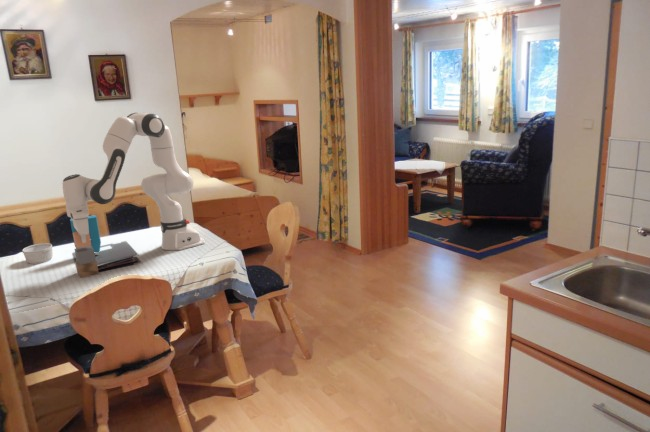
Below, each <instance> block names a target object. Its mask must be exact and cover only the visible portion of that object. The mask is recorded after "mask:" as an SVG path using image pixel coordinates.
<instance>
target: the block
mask: <svg viewBox="0 0 650 432" xmlns="http://www.w3.org/2000/svg"><path fill="white" fill-rule="evenodd" d="M87 218H88V227H89V235H90V240H91V245H90V246H92V248H93V249H94V252H99V251H100V252H101V244H102V240H101V235H100V234H101V233H100V230H99V223H98V218H97V215H95V214H94V215H89V217H87ZM69 221H70V227H71V231H72V233H71V234H73V232H77V230H76V229H75V228H74V225H73V220H71V218H70V219H69ZM72 238H73V240H74V237H73V236H72ZM73 243H74V248H75V249H76V248H77V247H76V246H75V242H74V241H73ZM85 247H86V246H85ZM80 248H81V247H80Z"/></svg>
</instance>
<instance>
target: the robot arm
mask: <svg viewBox="0 0 650 432" xmlns="http://www.w3.org/2000/svg"><path fill="white" fill-rule="evenodd" d="M163 121H164V120H163V119H162V118H161V117H160V116H159V115H157V114H154V113H149V112H133V113H130V114H128V115H127V116H123V115H122V116H118V117H117V118H116V119H115V120H114V122H113V123H112V124H111V126H110V128H109V129H108V130H107V133H106V135H105V137H104V140H103V142H102V150H103V152H104V153H105V154H106V157H107V164H106V165H105V169H104V172H103V175H102V177H101V178H100V179H94V178H89V177H85V176H83V175H82V174H79V173H78V174H77V173H76V174H71V175H68V176H66V177H64V178H63V180H62V192H63V198H64V200H65V210H66V215H67V217H68V218H70V219H71V220H73V225H74V228H75V229H76V230H77V232H78V233H79V235H80V236H81V241H82V243H86V235H88V234H89V235H90V233H89V227H88V218H87V217H89V216H90V214H89V213H90V211H89V205H88V201H91V202H95V203H97V204H100V205H107V204H110V203H111V202H112V201H113V200H114V198H115V197H116V189H117V188H116V186H117V183H118V180H119V177H120V175H121V172H122V169H123V166H124V164H125V159H126V156H127V153H128V150H129V148H130V146H131V144H132V141H133V139H134V138H135V137H136V136H142V137H148V139H149V142H150V143H149V144H150V150H151V157H152V162H153V164H154V165H155V166H157V167H158V168H159V167H160V168H162V169H163V170H165V173H155V174H149V175H146V176H144V177H143V178H142V180H141V183H140V187H141V190H142V191H143V193H144V194H145V195H146V196H149V197H150V198H151V199H152V200H153V201H154V202H155V203H156V205H157V207H158V211H159V215H160V231H161V234H162V237H161V239H162V240H161V245H160V246H161V249H162V250H164V251H165V250H166V251H182V250H187V249H190V248H193V247H197V246H201V245H205V243H206V241H205V239H204V238H203V237H201V235H200V233H199V231H198V230H197V229H195V228H194V227H192V226H190V224H191V221H190V220H189V219H185V218H184V216H183V207H182V205H181V203H179V202H178V201H177V200H173V199H172V198H170V196H169V195H182V194H186V193H190V192H191V191H192V189H193V187H194V179H193V177H192V175H190V173H188V172H186V171H185V170H184V169H182V167H181V166H180V165H179V163H178V161H177V158H176V157H177V156H176V152H175V146H174V140H173V136H172V132H171V129H170V127H169V126H167V125H166V124H164V122H163Z"/></svg>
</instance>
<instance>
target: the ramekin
mask: <svg viewBox="0 0 650 432" xmlns="http://www.w3.org/2000/svg"><path fill="white" fill-rule="evenodd" d="M22 254H23V255H24V258H25V261H26V262H27V263H28V264H31V265H32V264H33V265H35V264H36V265H37V264H42V263H46V262H49V261H51V260H52V258H53V244H52V243H48V242H47V243H43V242H42V243H37V244H31V245H29V246H26V247H24V248H23V249H22Z"/></svg>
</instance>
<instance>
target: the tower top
mask: <svg viewBox="0 0 650 432" xmlns="http://www.w3.org/2000/svg"><path fill="white" fill-rule="evenodd" d="M74 253H75V261H77V262H78V264H79V265H82V264H87V263H92V262H96V261H97V259H96V256H95V253H94V249H93V248H92V246H86V247H81V248H76V247H75V248H74Z"/></svg>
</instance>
